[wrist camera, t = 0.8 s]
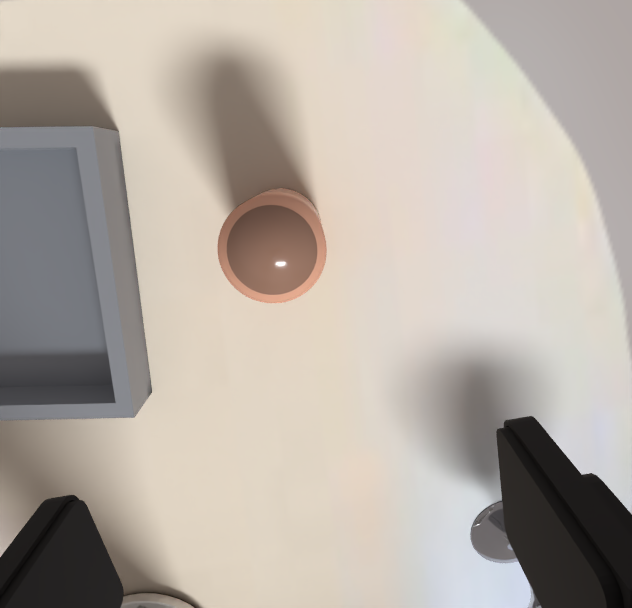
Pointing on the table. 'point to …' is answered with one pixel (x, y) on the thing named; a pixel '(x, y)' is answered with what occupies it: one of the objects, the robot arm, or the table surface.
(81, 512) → the robot arm
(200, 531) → the table surface
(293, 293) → the cup
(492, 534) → the wine glass
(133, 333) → the tray
